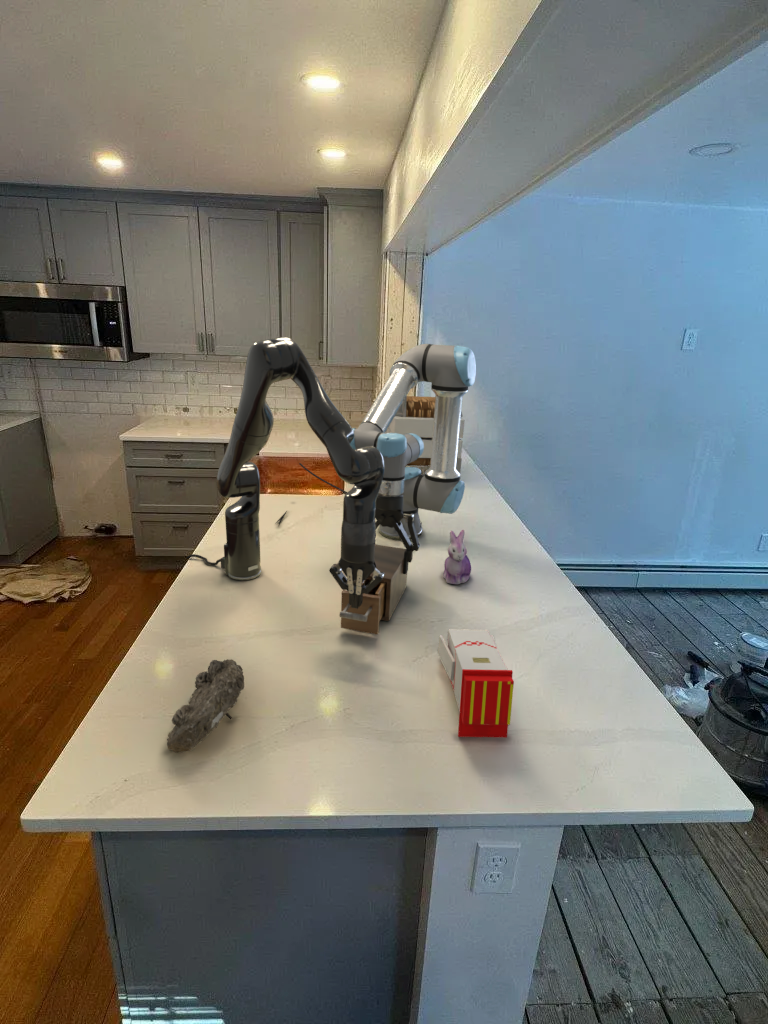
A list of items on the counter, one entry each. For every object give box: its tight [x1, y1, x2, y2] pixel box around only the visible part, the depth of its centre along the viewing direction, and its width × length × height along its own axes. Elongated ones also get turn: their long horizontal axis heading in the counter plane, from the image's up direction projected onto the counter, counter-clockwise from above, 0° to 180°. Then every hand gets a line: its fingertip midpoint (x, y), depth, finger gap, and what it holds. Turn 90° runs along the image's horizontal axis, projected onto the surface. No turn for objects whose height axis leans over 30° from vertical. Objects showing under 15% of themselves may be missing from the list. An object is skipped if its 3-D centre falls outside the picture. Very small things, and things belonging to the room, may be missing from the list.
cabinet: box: [367, 544, 408, 622], centre depth 152 cm, size 20×10×12 cm, turn 165°
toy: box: [437, 628, 515, 738], centre depth 117 cm, size 12×13×30 cm
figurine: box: [442, 529, 472, 585], centre depth 166 cm, size 9×10×15 cm
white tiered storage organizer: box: [386, 395, 465, 475], centre depth 268 cm, size 34×33×41 cm
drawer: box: [339, 579, 387, 635], centre depth 141 cm, size 24×9×10 cm, turn 165°
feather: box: [274, 510, 288, 528], centre depth 213 cm, size 2×28×2 cm
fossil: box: [166, 658, 245, 754], centre depth 106 cm, size 22×10×15 cm
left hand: (355, 606), depth 130 cm, fingers closed
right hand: (385, 569), depth 157 cm, fingers closed on cabinet, 10 cm apart
